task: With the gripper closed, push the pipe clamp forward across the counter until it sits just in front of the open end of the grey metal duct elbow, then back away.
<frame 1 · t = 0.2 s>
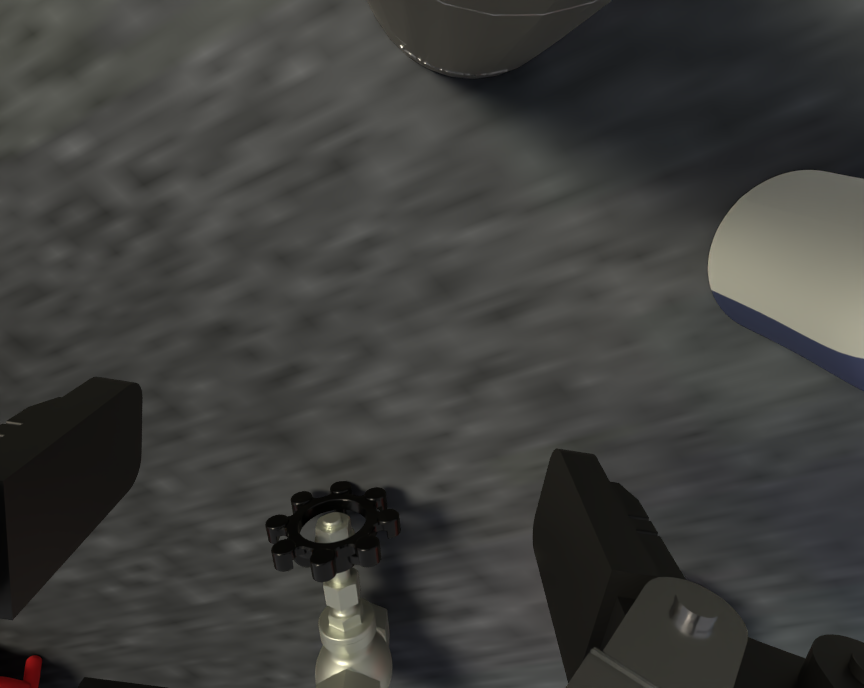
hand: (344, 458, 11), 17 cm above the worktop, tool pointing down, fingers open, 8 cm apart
water bottle: (782, 256, 27), on the worktop
cap: (1, 662, 36), on the worktop
valve: (354, 566, 34), on the worktop
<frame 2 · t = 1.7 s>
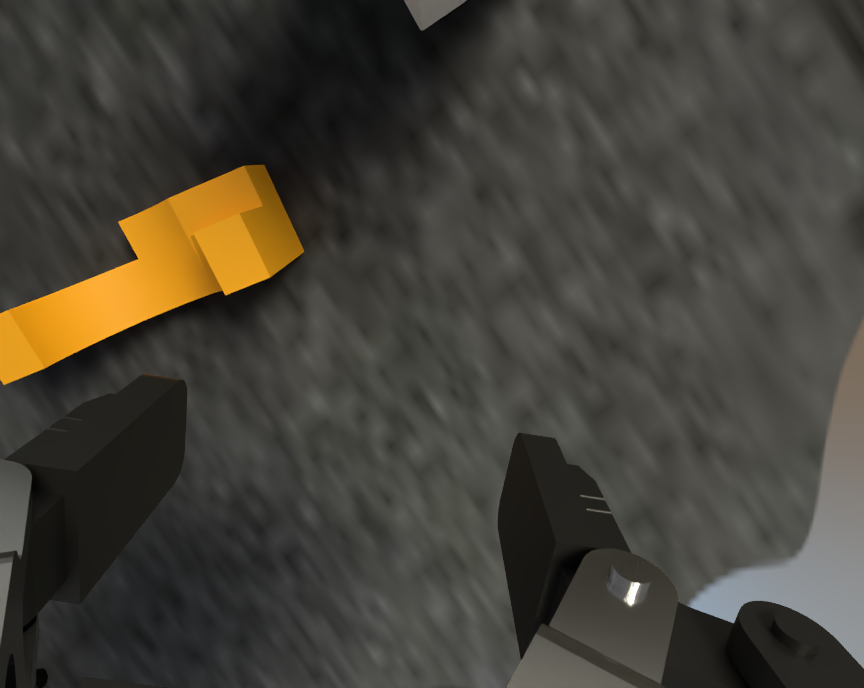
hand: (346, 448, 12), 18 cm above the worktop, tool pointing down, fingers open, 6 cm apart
pipe clamp: (176, 254, 29), on the worktop
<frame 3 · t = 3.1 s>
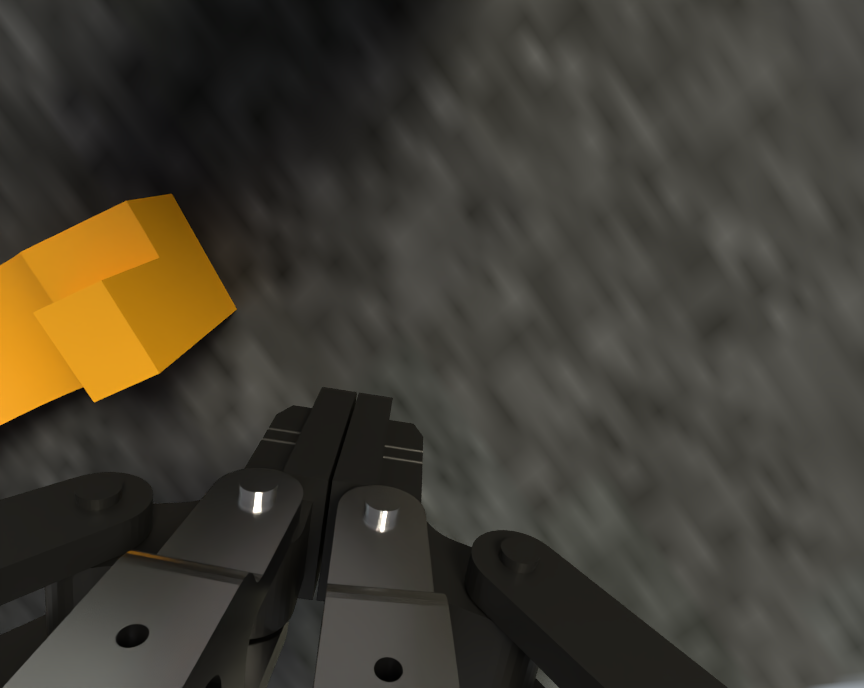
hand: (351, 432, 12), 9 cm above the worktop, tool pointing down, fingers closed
pipe clamp: (63, 319, 21), on the worktop
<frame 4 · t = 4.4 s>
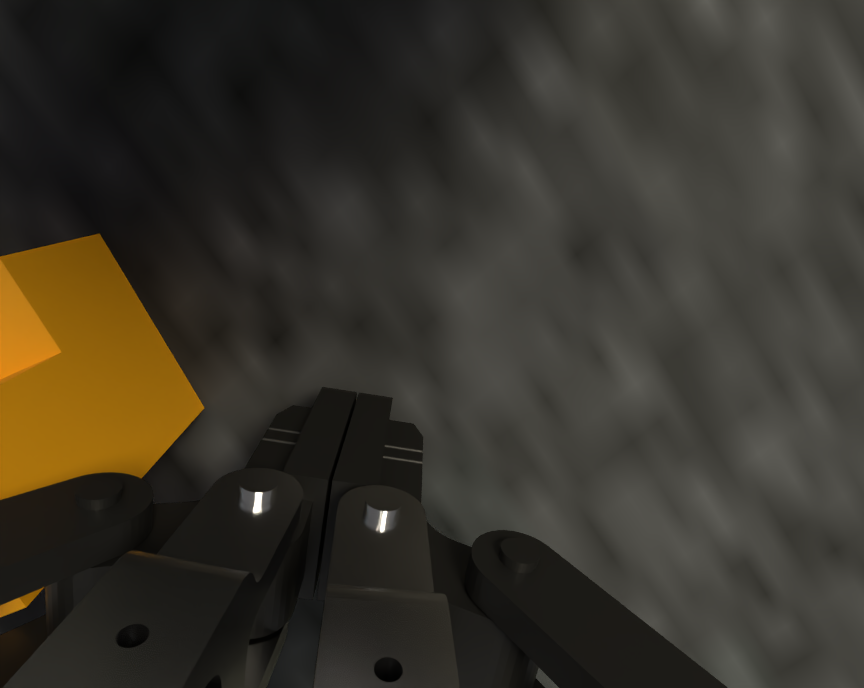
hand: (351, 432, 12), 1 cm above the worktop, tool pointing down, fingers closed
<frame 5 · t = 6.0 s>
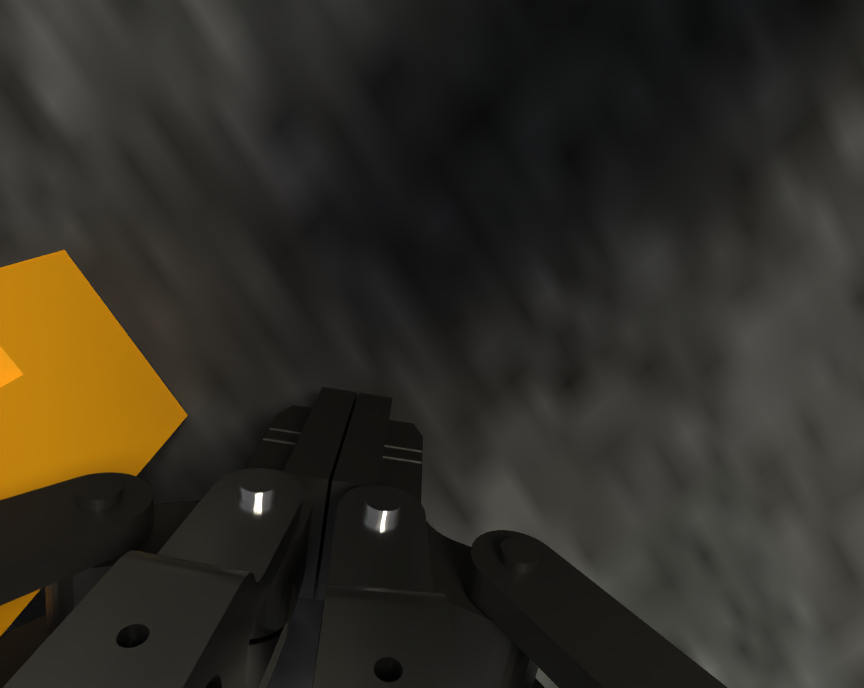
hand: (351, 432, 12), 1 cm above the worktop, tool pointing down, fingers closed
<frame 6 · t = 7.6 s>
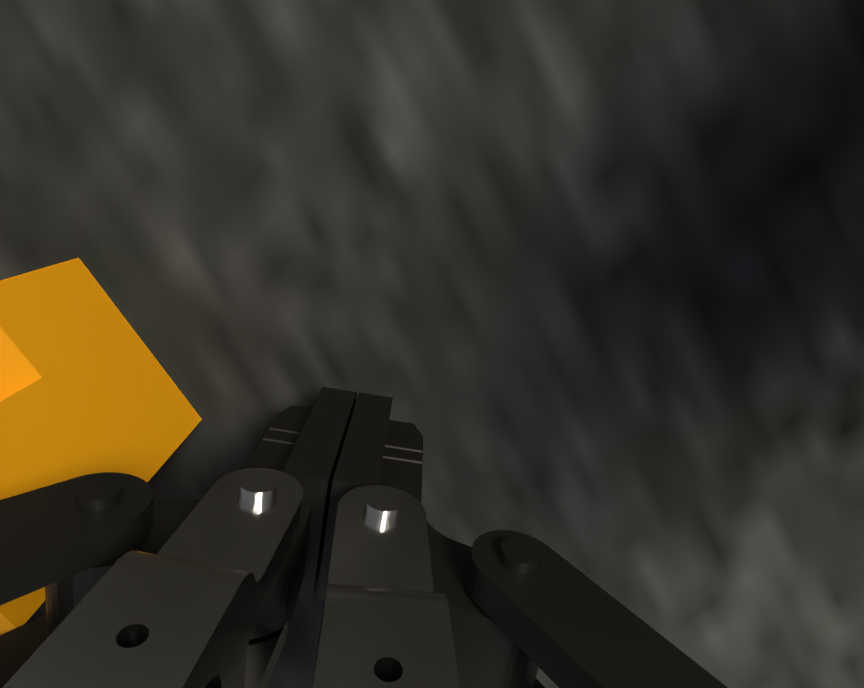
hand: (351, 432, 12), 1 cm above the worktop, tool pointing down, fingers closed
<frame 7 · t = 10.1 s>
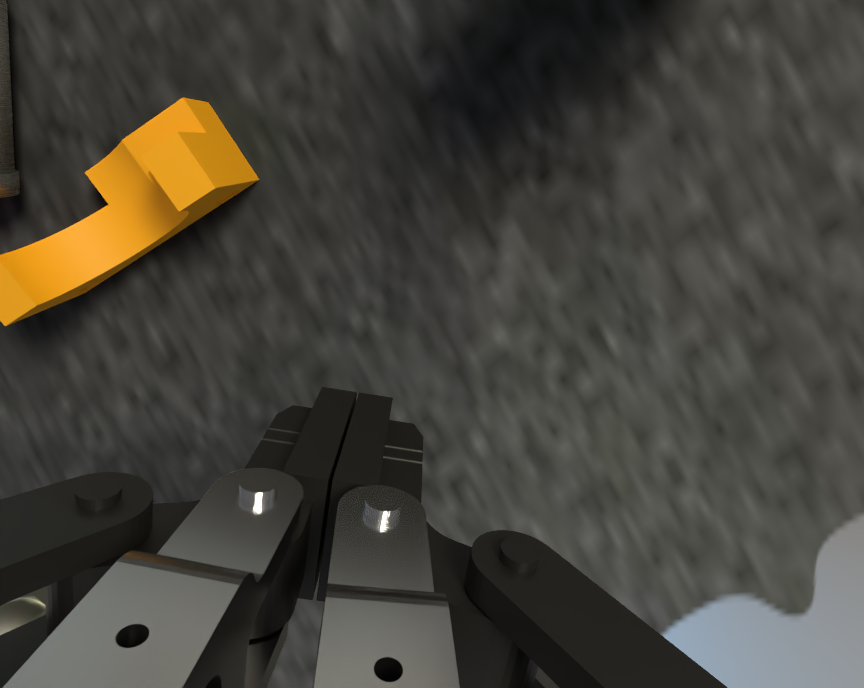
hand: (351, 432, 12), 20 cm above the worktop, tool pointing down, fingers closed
pipe clamp: (146, 202, 31), on the worktop
valve: (101, 588, 39), on the worktop
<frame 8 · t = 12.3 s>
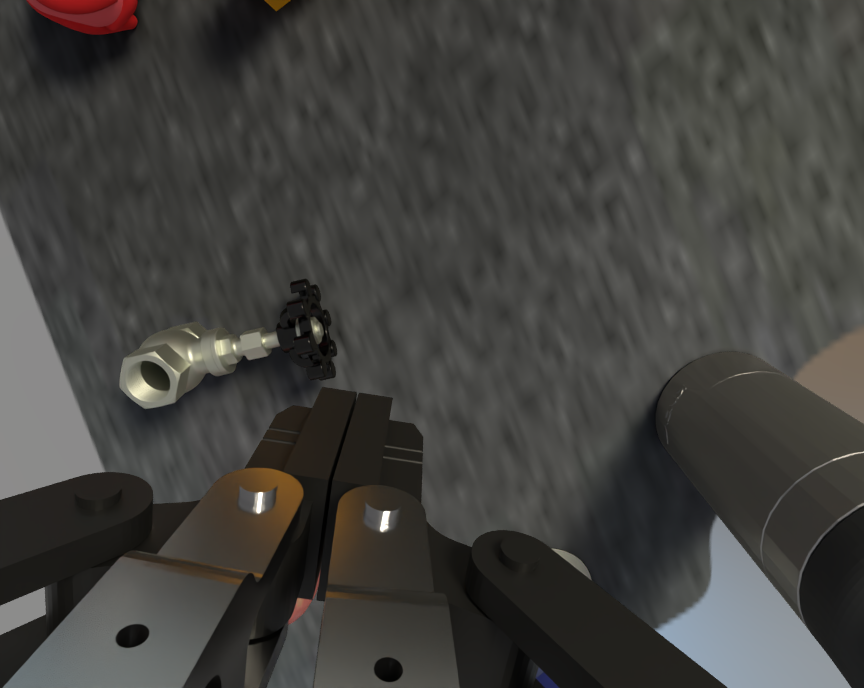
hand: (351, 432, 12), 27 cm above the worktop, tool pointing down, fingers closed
water bottle: (542, 583, 47), on the worktop
valve: (247, 333, 40), on the worktop
apple: (281, 536, 45), on the worktop
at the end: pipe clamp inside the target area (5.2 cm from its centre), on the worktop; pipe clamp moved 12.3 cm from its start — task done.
